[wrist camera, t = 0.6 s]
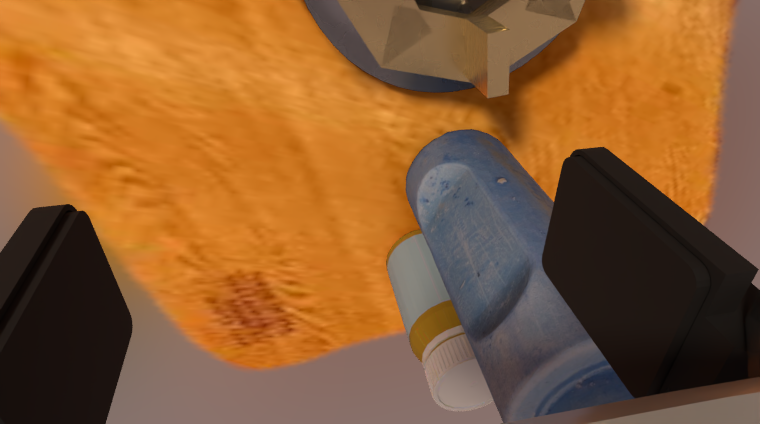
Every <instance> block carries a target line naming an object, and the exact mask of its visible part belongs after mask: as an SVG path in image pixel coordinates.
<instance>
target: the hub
mask: <svg viewBox="0 0 760 424" xmlns="http://www.w3.org/2000/svg"><path fill="white" fill-rule="evenodd" d="M304 1H305V3H306V5H307V7H308V9H309V11H310V13H311V14H312V16H313V18H314V19H315V21H316V23H317V24H318V26H319V27H320V29H321V30H322V31H323V33H324V34H325V35H326V36H327V38H328V39H329V40H330V41H331V43H332V44H333V45H334V46H335V47H336V48H337V49H338V50H339V51H340V52H341V53H342V54H343V55H344V56H345V57H346V58H347V59H348V60H350V61H351V62H352V63H354V64H355V65H356V66H358V67H359V68H360V69H362V70H363V71H365V72H367V73H368V74H370V75H372V76H374V77H376V78H378V79H379V80H381V81H384V82H387V83H389V84H392V85H395V86H397V87H401V88H405V89H410V90H414V91H423V92H453V91H459V90H465V89H470V88H474V87H475V86H474V85H473V84H472V83H470V82H464V81H458V80H452V79H446V78H440V77H434V76H428V75H422V74H416V73H410V72H403V71H397V70H391V69H385V68H381V67H380V65H379V64H378V62H377V61H376V59H375V58H374V56H373V55H372V53H371V52H370V50H369V48H368V47H367V45H366V44H365V42H364V41H363V39H362V38H361V36H360V35H359V33H358V32H357V30H356V28H355V27H354V25H353V24H352V22H351V21H350V19H349V18H348V16H347V15H346V13H345V12H344V10H343V8H342V7H341V5H340V4H339V2H338V1H337V0H304ZM486 1H488V0H415V2H416V4H420V5H425V6H429V7H434V8H439V9H444V10H449V11H453V12H458V13H463V14H469V13H470V12H472V11H473V10H475V9H476V8H478V7H479V6H480V5H482V4H483V3H485V2H486ZM558 34H559V33H558ZM558 34H557V35H555V36H554V37H552V38H551V39H549V40H548V41H546V42H545V43H543V44H542V45H540V46H539V47H537V48H536V49H534V50H533V51H531V52H530V53H528V54H527V55H525V56H524V57H522V58H521V59H519V60H518V61H516V62H515V63H513V64H512V65H510V66H509V73H510V72H512V71H514V70H516V69H517V68H519V67H521V66H522V65H524V64H525V63H527V62H528V61H529V60H531V59H532V58H533V57H535V56H536V55H537V54H539V53H540V52H541V51H542V50H543V49H544V48H545V47H546V46H547V45H548V44H550V43H551V42H552V41H553V40H554V39H555V38H556V37H557V36H558Z"/></svg>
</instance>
